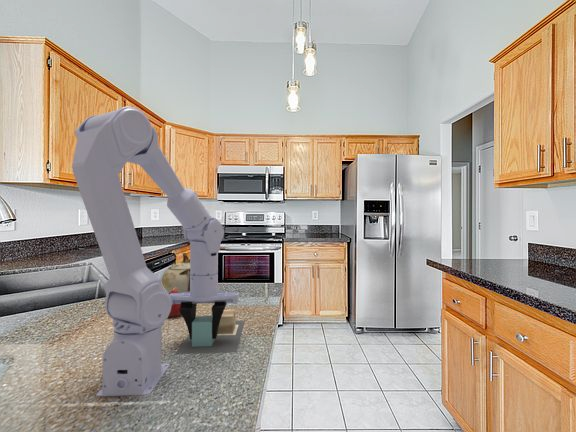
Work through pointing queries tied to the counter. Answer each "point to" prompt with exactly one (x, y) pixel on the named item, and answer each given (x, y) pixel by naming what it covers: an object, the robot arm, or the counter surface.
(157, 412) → the counter surface
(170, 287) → the cream rounded vessel
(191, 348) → the mat
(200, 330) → the teal block
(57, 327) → the counter surface
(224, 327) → the maple block
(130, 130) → the robot arm
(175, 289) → the onion
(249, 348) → the counter surface
